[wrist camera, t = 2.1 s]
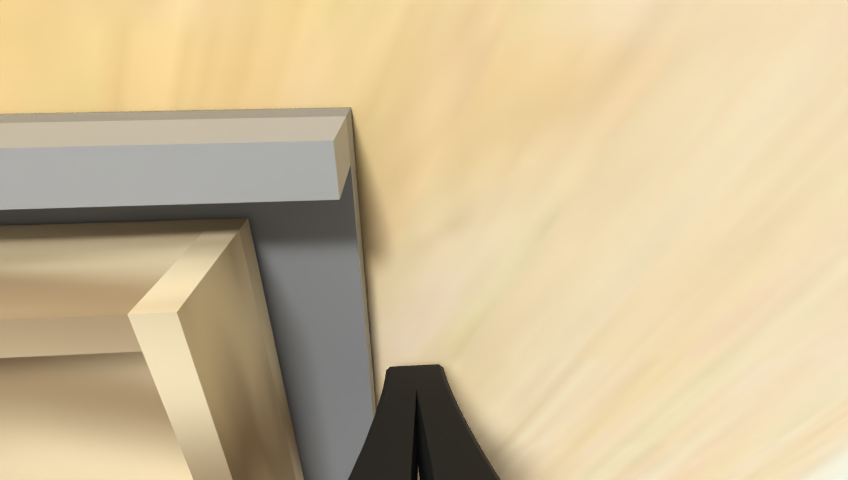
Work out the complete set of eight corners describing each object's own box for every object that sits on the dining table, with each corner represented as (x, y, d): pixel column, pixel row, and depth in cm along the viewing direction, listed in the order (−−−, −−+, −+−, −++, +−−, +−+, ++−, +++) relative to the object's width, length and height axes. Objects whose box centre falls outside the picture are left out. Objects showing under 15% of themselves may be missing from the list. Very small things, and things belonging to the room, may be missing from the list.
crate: (306, 488, 14) (280, 622, 10) (-5, 508, 13) (-126, 654, 10) (247, 217, 9) (176, 312, 6) (-216, 232, 9) (-538, 342, 6)
